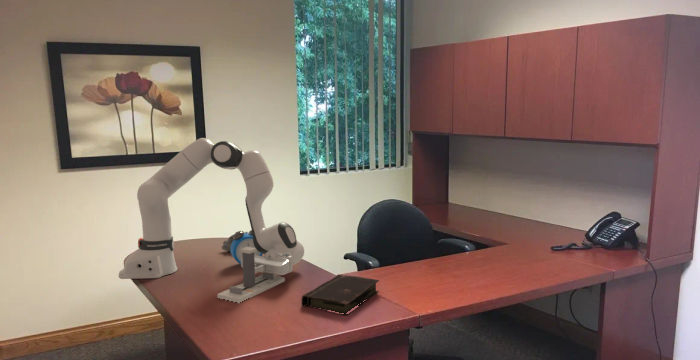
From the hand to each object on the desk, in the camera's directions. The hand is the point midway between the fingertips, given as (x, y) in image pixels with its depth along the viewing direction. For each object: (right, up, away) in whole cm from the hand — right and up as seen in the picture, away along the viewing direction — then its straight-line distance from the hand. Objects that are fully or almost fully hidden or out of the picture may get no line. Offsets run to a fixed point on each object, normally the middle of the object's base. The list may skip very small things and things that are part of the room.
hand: (251, 270), depth 184 cm
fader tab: (-1, -6, -1) cm, 6 cm away
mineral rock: (-17, -1, +53) cm, 55 cm away
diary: (+34, -9, -8) cm, 36 cm away
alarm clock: (-8, -3, +32) cm, 33 cm away
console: (0, -7, +1) cm, 7 cm away
